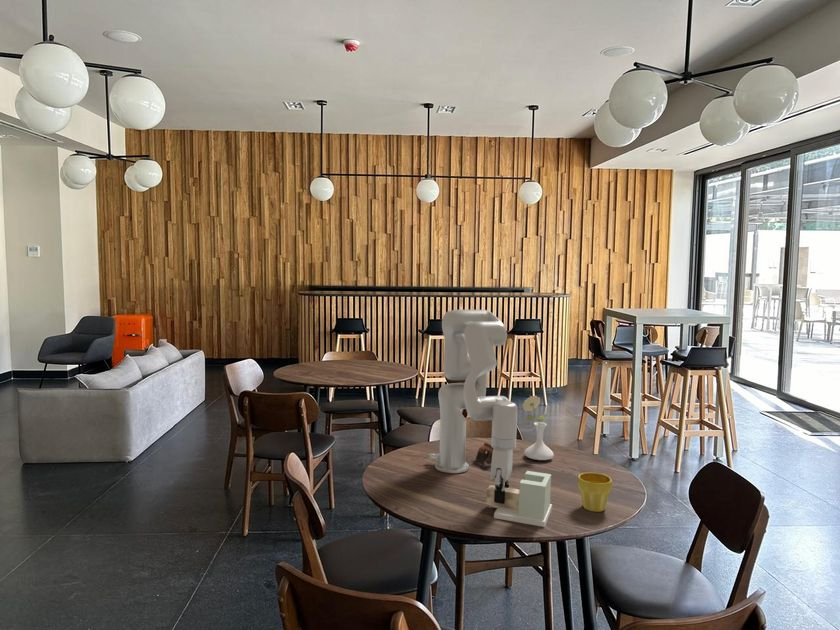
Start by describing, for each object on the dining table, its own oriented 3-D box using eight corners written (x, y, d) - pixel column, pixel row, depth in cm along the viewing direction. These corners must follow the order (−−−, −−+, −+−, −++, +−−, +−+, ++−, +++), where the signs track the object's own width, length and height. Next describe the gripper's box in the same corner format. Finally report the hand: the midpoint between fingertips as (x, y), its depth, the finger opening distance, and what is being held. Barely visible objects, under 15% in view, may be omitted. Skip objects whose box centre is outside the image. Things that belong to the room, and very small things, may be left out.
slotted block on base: (494, 518, 179) (495, 480, 178) (504, 501, 192) (505, 466, 191) (544, 527, 174) (546, 488, 173) (551, 508, 187) (553, 473, 186)
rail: (486, 504, 185) (487, 485, 185) (489, 500, 189) (490, 481, 188) (538, 513, 180) (539, 493, 179) (540, 508, 183) (541, 489, 183)
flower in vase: (549, 453, 242) (552, 392, 239) (556, 463, 230) (559, 399, 228) (517, 453, 241) (519, 392, 239) (523, 462, 230) (525, 398, 228)
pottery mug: (471, 459, 233) (479, 440, 235) (492, 470, 234) (501, 451, 236) (478, 462, 222) (487, 441, 223) (500, 473, 222) (509, 453, 224)
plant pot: (569, 503, 191) (571, 474, 191) (595, 499, 196) (597, 470, 195) (591, 516, 182) (592, 485, 181) (617, 511, 186) (619, 481, 185)
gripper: (498, 433, 193) (496, 488, 195) (484, 448, 177) (482, 507, 179) (521, 436, 190) (519, 491, 192) (509, 451, 174) (507, 512, 176)
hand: (501, 498), depth 185 cm, fingers open, 4 cm apart
